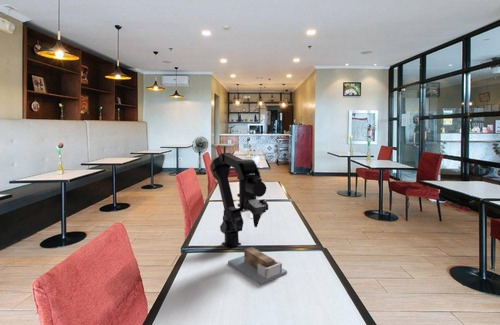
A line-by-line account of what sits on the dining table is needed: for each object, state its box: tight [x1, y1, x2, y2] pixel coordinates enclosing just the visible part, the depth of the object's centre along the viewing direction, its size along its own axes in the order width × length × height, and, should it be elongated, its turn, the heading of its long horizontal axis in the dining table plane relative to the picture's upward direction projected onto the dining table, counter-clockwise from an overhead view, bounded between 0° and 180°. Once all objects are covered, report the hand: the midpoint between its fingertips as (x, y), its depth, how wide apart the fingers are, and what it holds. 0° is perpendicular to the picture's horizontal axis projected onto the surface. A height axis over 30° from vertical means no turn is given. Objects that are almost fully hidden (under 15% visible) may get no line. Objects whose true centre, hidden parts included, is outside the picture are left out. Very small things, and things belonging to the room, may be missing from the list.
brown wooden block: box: [243, 246, 276, 270], centre depth 115 cm, size 14×4×5 cm, turn 35°
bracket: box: [227, 255, 288, 285], centre depth 116 cm, size 20×12×4 cm, turn 38°
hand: (246, 229), depth 126 cm, fingers open, 9 cm apart
